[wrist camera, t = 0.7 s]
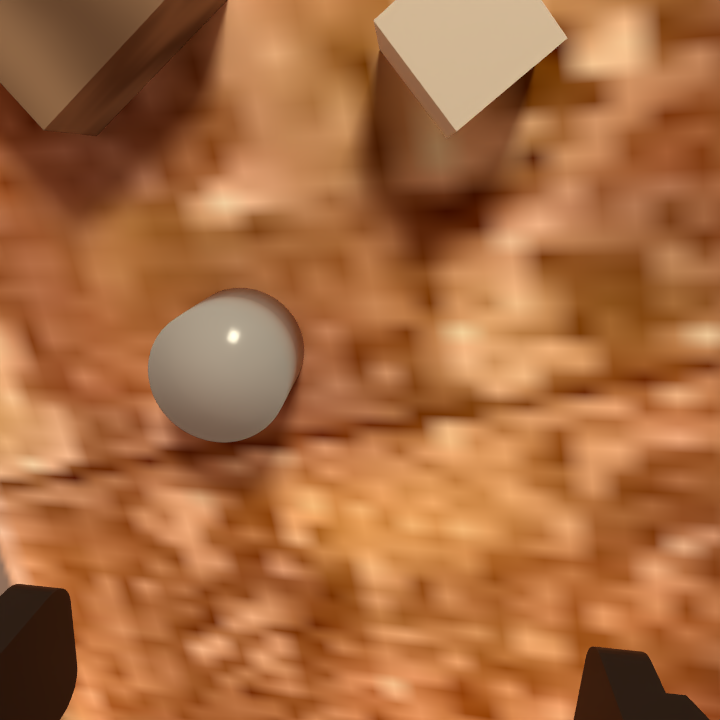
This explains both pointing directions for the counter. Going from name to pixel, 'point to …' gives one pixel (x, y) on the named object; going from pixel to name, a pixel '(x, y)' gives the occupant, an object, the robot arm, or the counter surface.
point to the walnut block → (89, 54)
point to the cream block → (464, 51)
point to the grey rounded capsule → (226, 365)
